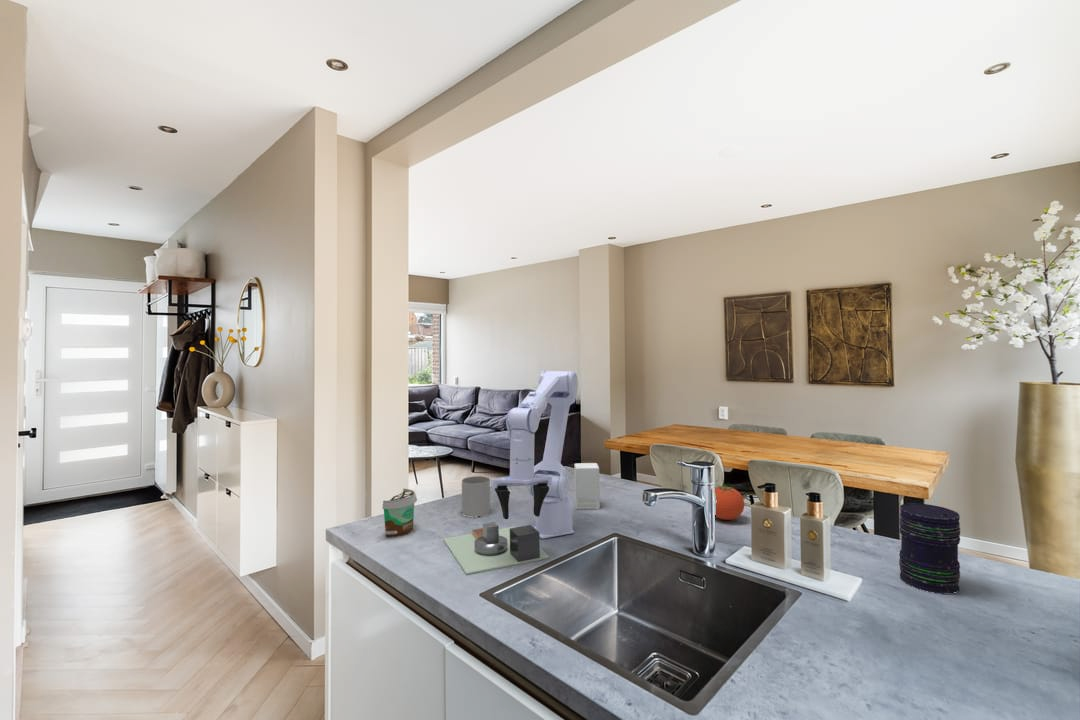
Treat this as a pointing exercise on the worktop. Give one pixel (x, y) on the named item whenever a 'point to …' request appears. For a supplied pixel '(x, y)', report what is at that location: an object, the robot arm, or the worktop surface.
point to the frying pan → (489, 540)
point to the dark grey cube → (524, 543)
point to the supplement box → (587, 486)
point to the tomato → (728, 503)
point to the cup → (476, 496)
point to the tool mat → (477, 563)
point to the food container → (399, 513)
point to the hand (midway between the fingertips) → (521, 516)
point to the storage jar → (929, 547)
